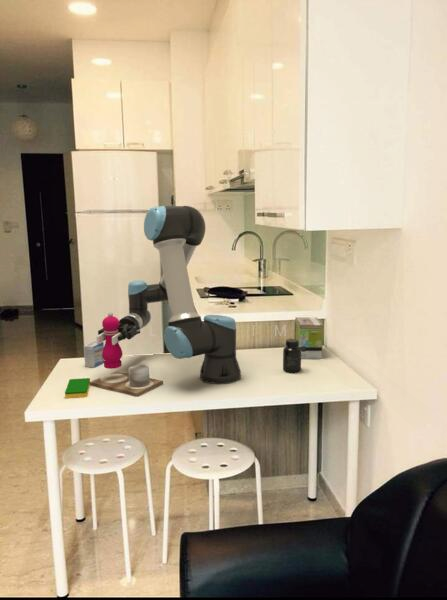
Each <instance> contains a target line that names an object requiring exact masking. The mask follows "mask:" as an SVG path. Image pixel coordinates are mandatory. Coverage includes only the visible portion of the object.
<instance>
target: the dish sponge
mask: <svg viewBox="0 0 447 600" xmlns="http://www.w3.org/2000/svg"><path fill="white" fill-rule="evenodd" d="M90 382H91V378H90V377H87V378H85V377H84V378H69V380H68V383H67V386H66V389H65V391H64V398H65V399H74V398H75V399H77V398H87V397H88V395H89V390H90V386H91V385H90Z"/></svg>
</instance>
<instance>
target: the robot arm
mask: <svg viewBox="0 0 447 600" xmlns="http://www.w3.org/2000/svg"><path fill="white" fill-rule="evenodd" d="M143 231H144V236H145V238H146V239H147V240H149V241H152V243H153V248H155V249H156V250H158V252H159V258H160V262H161V263H160V264H161V269H162V276H161V279H160V281H159V283H154V284H148V283H147V281H145V280H132V281H129V282H128V286H127V297H128V298H127V299H128V314H126V316H123V317H122V318H121V319H118V320H119V327H118V328H117V329H118V334H116V335H115V336H113V337H112V345H115V344H116V343H119V342H121V341H124V340H131V339H132V338H134V337H135V336H136V335H138V334H141V329H143V328H145V327H146V326H148V324H149V323H150V322H151V319H152V315H151V312H150V311H149V310H148V304H152V303H163V302H168V307H169V311H170V318H169V320H168V321H167V324H168V325H167V327H166V328H165V330H164V332H163V333H164V335H163V339H164V340H163V341H164V344H165V347H166V349H167V351H168V352H169V353H170V355H171V356H172V357H174V358H175V359H179V360H181V359H190V358H192V357H197V356H201V355H204V357H203V361H202V365H201V368H200V371H199V373H200V374H199V378H200V380H202V381H203V382H206V383H210V384H219V385H222V384H230V383H231V384H233V383H235V382H237V381H240V380H241V378H242V377H241V376H242V373H241V372H242V371H241V368H240V365H239V361H238V359H237V324H236V320H235V318H233V317H231V316H227V315H220V314H206V315H204V317H203V319H202V318H201V317H202V316H201V315H200V314H199V313H197V312H196V309H195V305H194V304H195V303H194V298H193V297H194V296H193V293H192V288H191V283H190V278H189V277H190V275H189V272H188V265H189V263H190V260H191V258H192V257H193V255H194V252H195V251H196V248H197V247H199V246H200V245H201V244H202V242H203V239H204V237H205V233H206V222H205V219H204V216H203V214H202V213H201V212H200V211H199V210H198V209H197V208H195V207H192V206H191V205H190V206H189V205H183V206H182V205H179V206H178V205H160V206H153V207H150V209H148V210H147V212H146V215H145V217H144V221H143ZM202 320H203V321H202ZM104 330H105V329H104V328H103V327H102V328H101V329H98V331H97V336H96V341H97V344H100V343H101V342H105V341H106V336H105V334H104Z"/></svg>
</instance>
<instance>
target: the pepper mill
mask: <svg viewBox="0 0 447 600" xmlns="http://www.w3.org/2000/svg"><path fill="white" fill-rule="evenodd" d="M119 320H120V319H118V317H116V316H114V313H113V312H112V311H110V312H108V313H107V316H106V317H104V319H102V322H101V325H102V326H101V327H102V328H104V329H105V330H104V334H105V336H106V340H105V341H104V342H105V343H104V348H103V351H102V357H103V359H104V360H105V361H104V363H103V367H104V368H105V369H111V370H114V369H119V368H121V367H122V357H123V350H122V347H121V345H120V343H119V342H118V343H116V344H115V345H112V337H113V336H115V335H116V334H118V329H117V328H118V327H119Z"/></svg>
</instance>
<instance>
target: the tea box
mask: <svg viewBox="0 0 447 600" xmlns="http://www.w3.org/2000/svg"><path fill="white" fill-rule="evenodd" d="M323 334H324V324H323V323H322V321H321V320H320V319H319V318H318V317H313V316H312V317H307V316H306V317H304V316H303V317H299V316H297V317H295V318H294V339H296V340H298V341H299V346H298V347H299V348H300V349H301V360H302V359H303V360H309V359H310V360H316V359H317V360H320V359H321V360H322V358H323V338H324V335H323Z"/></svg>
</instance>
